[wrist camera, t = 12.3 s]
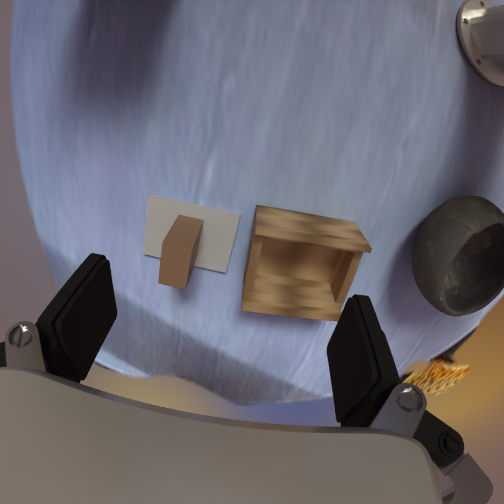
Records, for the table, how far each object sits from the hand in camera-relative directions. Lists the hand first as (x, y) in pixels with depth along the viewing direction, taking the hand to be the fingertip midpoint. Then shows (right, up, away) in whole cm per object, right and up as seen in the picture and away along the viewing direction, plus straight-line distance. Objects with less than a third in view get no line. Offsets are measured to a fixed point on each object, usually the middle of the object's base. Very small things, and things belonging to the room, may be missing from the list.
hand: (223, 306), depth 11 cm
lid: (-7, +4, +25) cm, 26 cm away
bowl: (+27, +5, +24) cm, 37 cm away
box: (+7, +2, +26) cm, 27 cm away
